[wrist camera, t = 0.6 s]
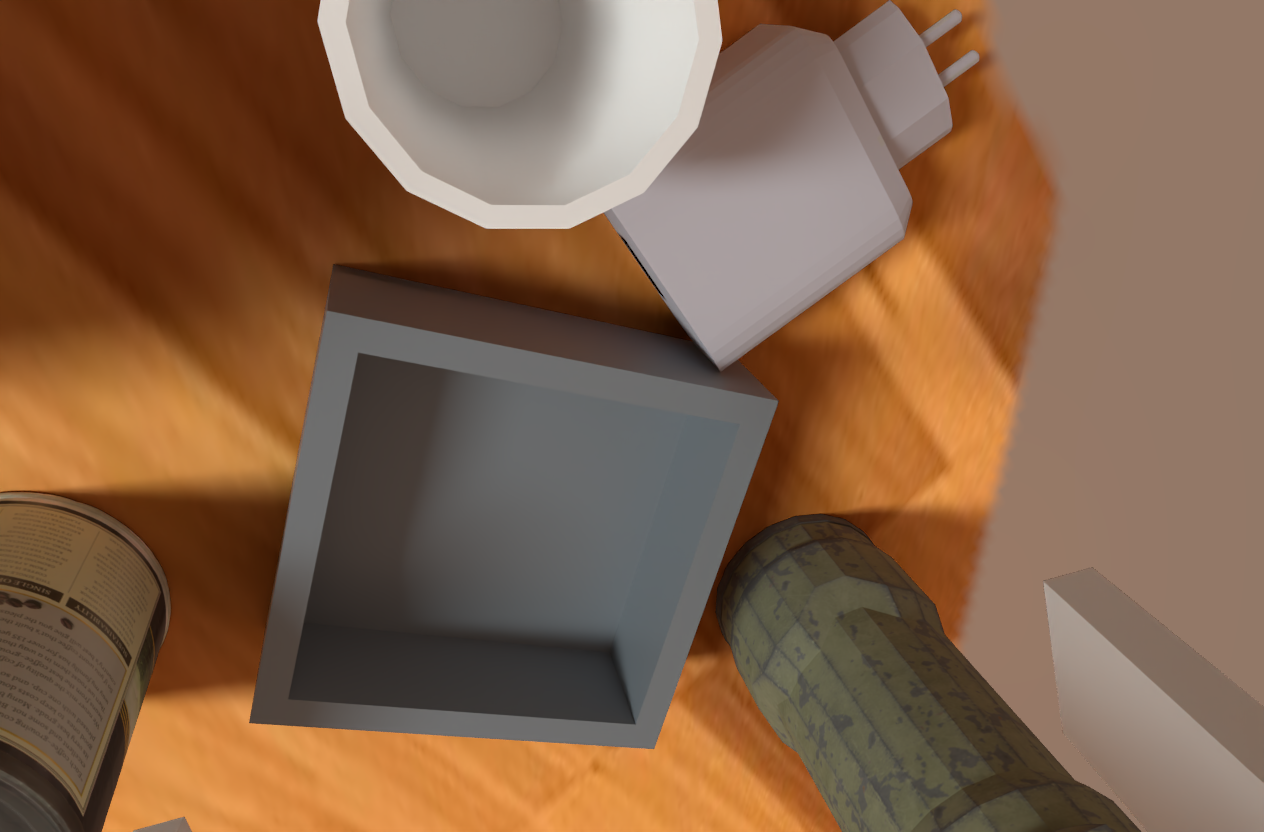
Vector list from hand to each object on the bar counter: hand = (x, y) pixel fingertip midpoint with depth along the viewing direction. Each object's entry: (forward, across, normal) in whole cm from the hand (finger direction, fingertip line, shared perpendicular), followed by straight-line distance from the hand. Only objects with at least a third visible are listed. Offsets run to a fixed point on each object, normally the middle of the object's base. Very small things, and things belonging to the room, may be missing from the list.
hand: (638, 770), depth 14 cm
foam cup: (+25, 0, +13) cm, 28 cm away
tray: (+27, -5, -5) cm, 28 cm away
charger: (+28, +10, +6) cm, 30 cm away
